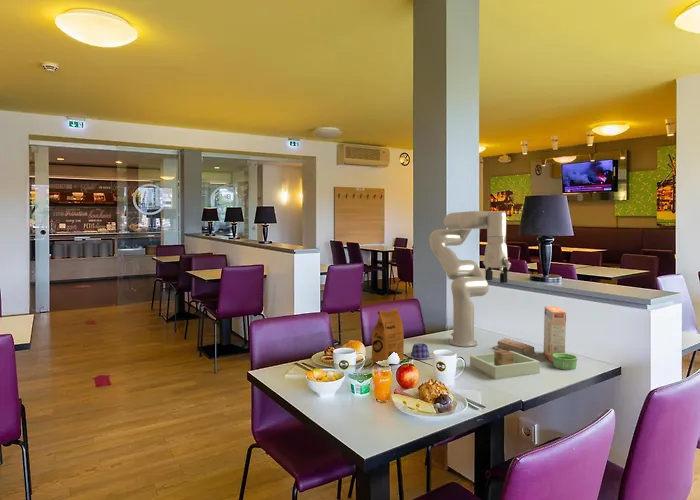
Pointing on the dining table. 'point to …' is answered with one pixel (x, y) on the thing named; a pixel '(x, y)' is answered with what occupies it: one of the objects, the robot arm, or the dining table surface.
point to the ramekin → (565, 361)
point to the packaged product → (516, 347)
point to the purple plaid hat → (419, 352)
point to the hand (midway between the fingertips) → (496, 281)
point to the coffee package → (388, 336)
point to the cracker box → (554, 331)
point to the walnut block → (503, 357)
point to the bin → (504, 366)
